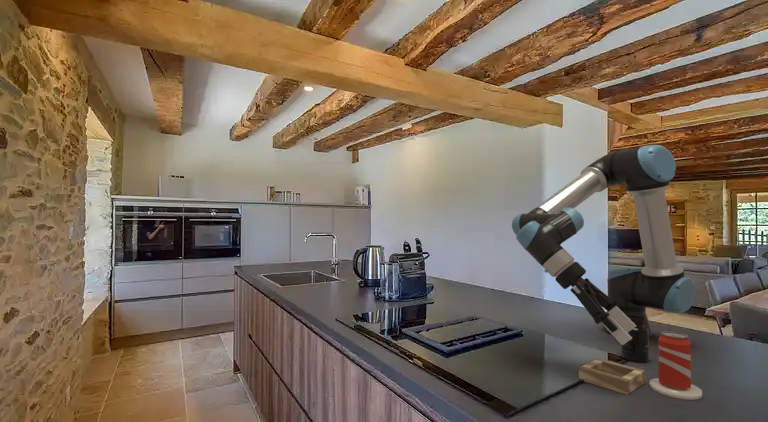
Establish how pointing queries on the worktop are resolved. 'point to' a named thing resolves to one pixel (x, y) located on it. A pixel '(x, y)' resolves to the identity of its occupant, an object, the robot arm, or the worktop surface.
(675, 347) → the beverage can
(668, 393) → the coaster
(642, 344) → the supplement bottle
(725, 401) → the worktop surface
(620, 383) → the oak holder
